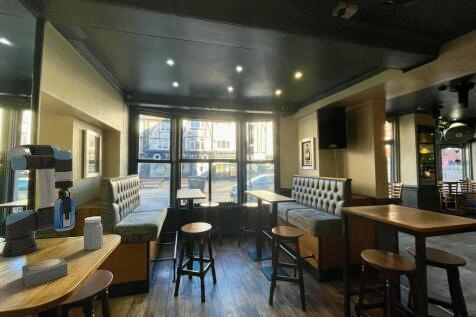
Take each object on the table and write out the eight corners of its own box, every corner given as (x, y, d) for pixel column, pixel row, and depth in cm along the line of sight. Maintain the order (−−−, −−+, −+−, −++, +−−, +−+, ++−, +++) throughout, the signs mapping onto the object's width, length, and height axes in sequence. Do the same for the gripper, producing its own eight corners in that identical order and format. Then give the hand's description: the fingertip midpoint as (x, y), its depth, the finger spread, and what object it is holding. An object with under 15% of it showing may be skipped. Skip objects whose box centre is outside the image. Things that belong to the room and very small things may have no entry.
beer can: (64, 231, 112) (63, 199, 112) (49, 231, 114) (49, 199, 114) (78, 227, 120) (78, 196, 121) (65, 226, 122) (64, 196, 122)
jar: (81, 252, 130) (81, 220, 130) (85, 246, 139) (85, 217, 139) (101, 249, 134) (101, 218, 134) (104, 243, 143) (103, 215, 143)
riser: (22, 277, 103) (22, 265, 103) (61, 266, 113) (60, 255, 113) (25, 288, 93) (25, 275, 93) (67, 274, 103) (67, 263, 104)
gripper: (50, 180, 121) (51, 223, 121) (59, 181, 107) (60, 230, 107) (67, 179, 127) (68, 220, 126) (78, 180, 113) (79, 226, 113)
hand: (64, 224), depth 117 cm, fingers closed on beer can, 8 cm apart
